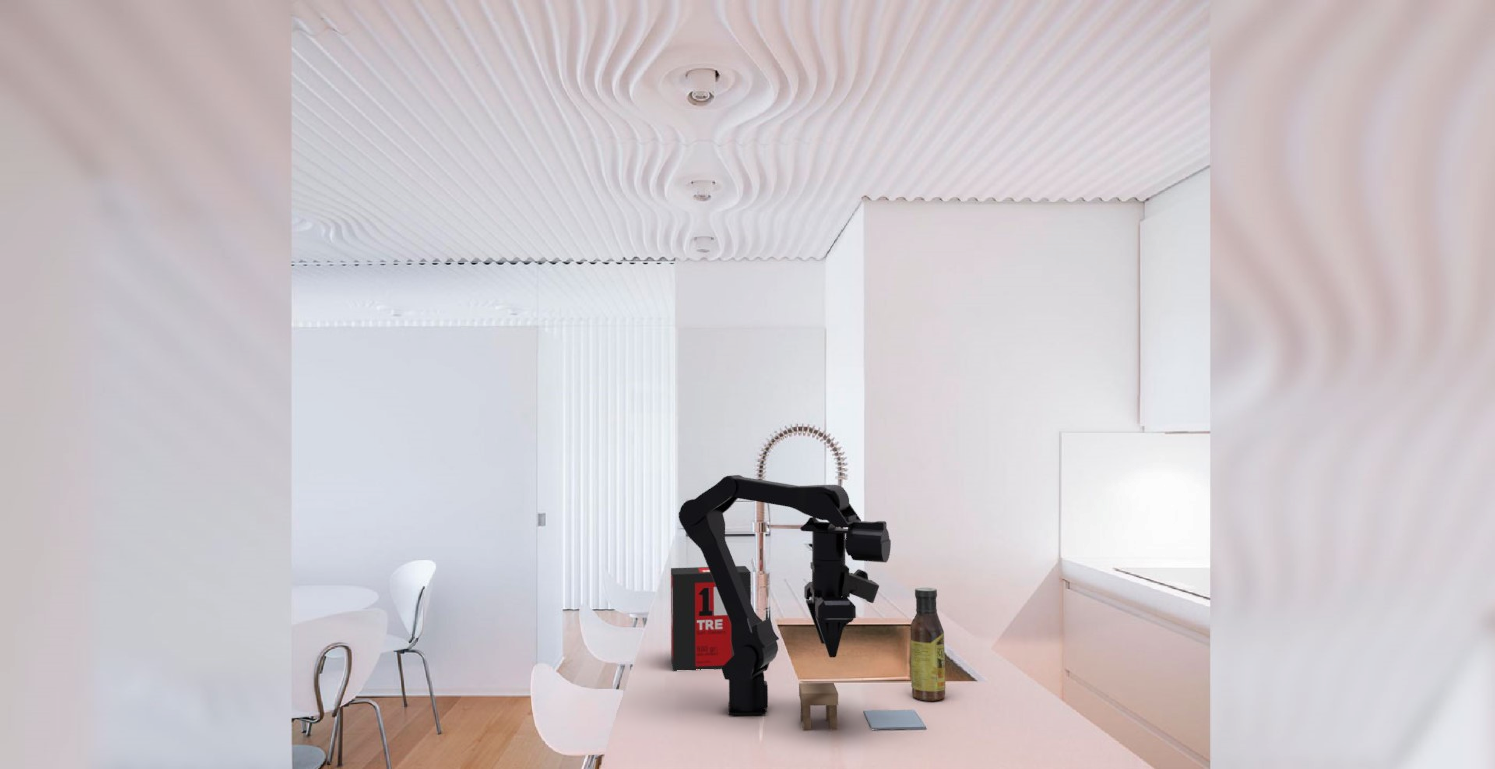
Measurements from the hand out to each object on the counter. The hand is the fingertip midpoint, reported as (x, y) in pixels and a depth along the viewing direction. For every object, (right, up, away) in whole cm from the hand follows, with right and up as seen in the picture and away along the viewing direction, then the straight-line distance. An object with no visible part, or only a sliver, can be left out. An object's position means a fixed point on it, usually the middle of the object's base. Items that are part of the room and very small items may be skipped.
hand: (828, 650), depth 148 cm
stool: (-2, -12, -2) cm, 12 cm away
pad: (+11, -12, -1) cm, 16 cm away
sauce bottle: (+20, -13, +13) cm, 27 cm away
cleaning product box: (-22, -15, +37) cm, 46 cm away
